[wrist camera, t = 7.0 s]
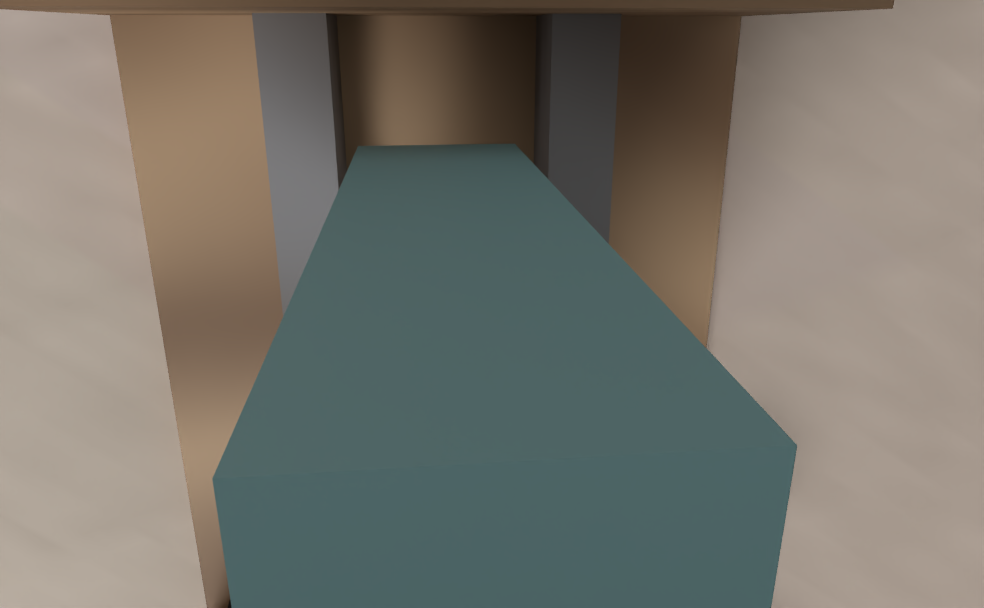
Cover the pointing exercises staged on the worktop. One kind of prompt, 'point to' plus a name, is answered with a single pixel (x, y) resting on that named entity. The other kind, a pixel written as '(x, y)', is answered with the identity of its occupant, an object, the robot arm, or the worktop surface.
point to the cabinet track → (401, 121)
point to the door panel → (491, 415)
